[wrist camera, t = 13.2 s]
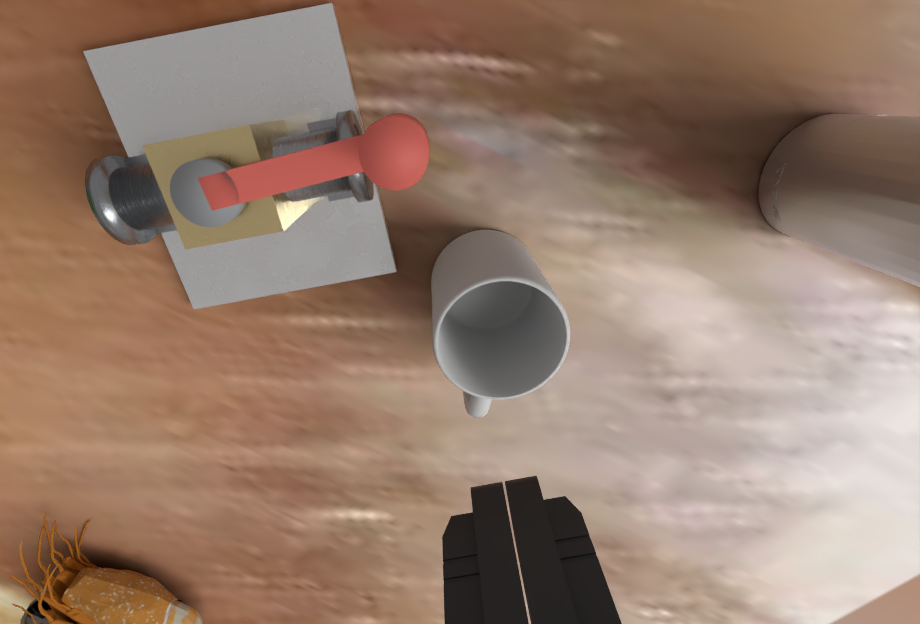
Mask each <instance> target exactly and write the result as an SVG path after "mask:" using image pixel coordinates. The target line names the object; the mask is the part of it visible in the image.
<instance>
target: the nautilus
mask: <svg viewBox="0 0 920 624" xmlns="http://www.w3.org/2000/svg"><path fill="white" fill-rule="evenodd" d="M45 515H46V512H45V513H44V516H43V518H44V527H45V530H46V534H47V538H48V542H49V546H50V548H51V553H50V552H49V550H48V553H49V554H50V555H51V559H52V561H53V562H54V563H55V565H56V567H55V568H54V569H53V571H52V572H51V574H50V575H49V567H50V565H51V564H49V566H48V568H47V569H46V568H45V567H44V566H43V565H42V563H41V561H40V557H41V540H42V536H43V531H44V527H43V528H42V530H41V534H40V537H39V544H38V555H37V563H38V565H39V567H40V568H41V569H42V570H43V572H44V575H45V576H44V578H43V580H42V581H41V583H42V584H43V585H45V586H44V589H43V590H42V587H41V586H40V585H38V584H36V583H35V582H34V581H33V580H32V579H31V578H30V576H29V573H28V570H27V567H26V565H25V562H24V559H23V555H22V543H23V540H22V541H21V543H20V560H21V564H22V567H23V569H24V572H25V575H26V578H27V579H25V580H26V581H28V582H29V583H30V584H32V585H33V587H34V589H35V591H37V592H39V593H40V595H39V596H37V595H36V594H35V593H34V592H33V591H31V590H30V589H29V588H28V586H27V585H26V584H25V583H24V582H22V581H21V580H19V579H17V578H15V577H13V576H12V575H11V574H10V577H11V578H13V579H14V580H16V581H18V582H19V583H21V584H22V585H23V586H24V587H25V588H26V589H27V591H28V592H29V593H31V594H32V595H33V596H34V597H35V598H36V599H35V600H34V601H33V602H32V603H30V605H29V607H28V608H27V610H25V609H24V608H23V607H20V606H18V605H15V604H13V603H12V604H13V605H14V606H16V607H19V608H21V609H22V610H23V611H25V613H24V615H23V617H22V619H21V624H203V621H202V618H201V616H200V614H199V613H198V612H197V611H196V610H195V609H193V608H192V607H190V606H188V605H186V604H183V603H182V602H181V600H179V599H177V598H175V596H174V595H173V594H172V593H171V592H169V591H168V590H167V589H166V588H165V587H164V586H163V585H162V584H160V583H159V582H158V581H157V580H156V579H154V578H151V577H147V576H145V575H143V574H141V573H137V572H134V571H131V570H117V569H112V568H100V567H98V566H96V565H94V564H93V563H90V562H89V560H88V559H87V558H86V557H85V556H84V555H83V554H82V553H80V546H81V543H82V539H83V536H84V531H85V529H86V528H87V525H88V523H89V522H90V521H91V520H90V521H88V522H87V524H86V525H85V527H84V529H83V530H82V535H81V538H80V541H79V544H78V542H77V532H76V530H77V527H76V529H75V537H74V540H75V545H76V550H75V549H74V548H72V547H71V545H70V542H69V541H68V540H67V539H65V538H63V537H62V536H61V534H60V533H59V532H58V530H57V529H56V527H55V522H56V521H54V523H53V526H52V531H51V538H50V534H49V531H48V528H47V522H46V517H45ZM54 529H55V531H56V533H57V534H58V536H59V537H60V539H62V540H64V541H65V542H66V543H67V545H68V547H69V550H70V553H71V557H72V558H71V557H65V558H64V556H63V555H62V554H61V553H60V552H57V551H56V550H55V549H54V542H53V535H54ZM73 551H74V553H75V556H76V560H77V561H76V560H75V557H74V553H73ZM76 552H77V553H76ZM54 553H55V554H57V555H58V556H60V557H61V561H62V563H61V564H60V563H59V561H58V560H57V559H56V558H55V557H54ZM80 556H81V557H82V558H83V559H84V561H85V562H82V560H81V558H80ZM82 564H83V565H82ZM84 565H85V566H84ZM57 567H58V569H59V573H58V574H57V575H56V577H55V576H53V573H54V571H55V569H56V568H57ZM64 570H65V571H64ZM36 588H37V589H36ZM46 588H48V589H47V590H46Z"/></svg>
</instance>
